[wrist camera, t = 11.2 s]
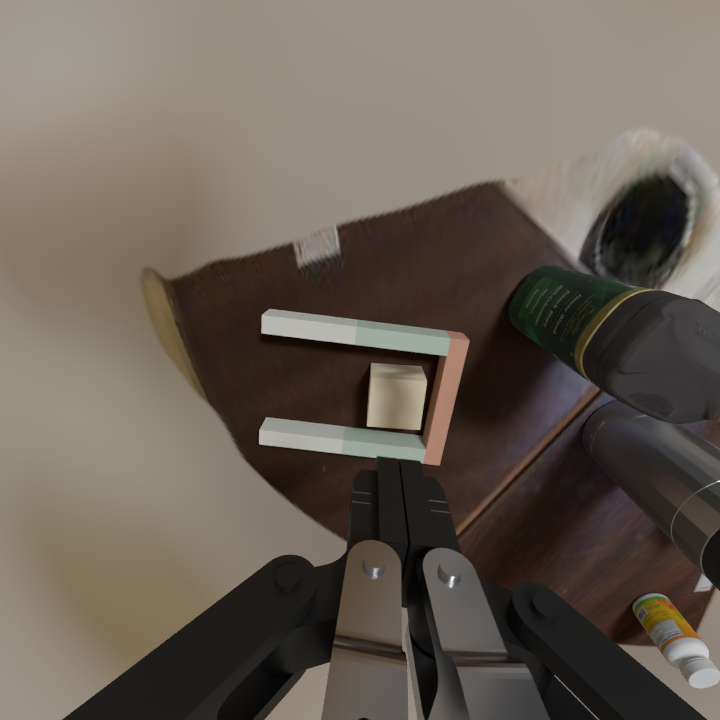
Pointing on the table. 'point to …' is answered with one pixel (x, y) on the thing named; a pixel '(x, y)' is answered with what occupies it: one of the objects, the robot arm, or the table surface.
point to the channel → (379, 336)
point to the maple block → (396, 396)
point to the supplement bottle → (676, 639)
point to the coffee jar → (626, 340)
